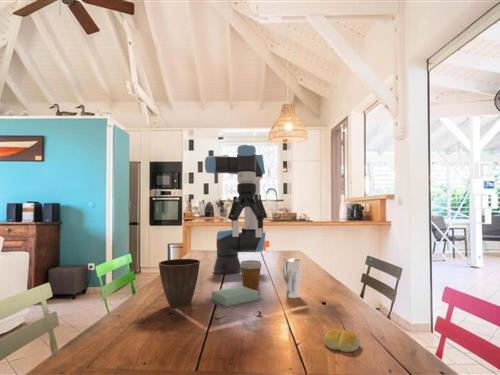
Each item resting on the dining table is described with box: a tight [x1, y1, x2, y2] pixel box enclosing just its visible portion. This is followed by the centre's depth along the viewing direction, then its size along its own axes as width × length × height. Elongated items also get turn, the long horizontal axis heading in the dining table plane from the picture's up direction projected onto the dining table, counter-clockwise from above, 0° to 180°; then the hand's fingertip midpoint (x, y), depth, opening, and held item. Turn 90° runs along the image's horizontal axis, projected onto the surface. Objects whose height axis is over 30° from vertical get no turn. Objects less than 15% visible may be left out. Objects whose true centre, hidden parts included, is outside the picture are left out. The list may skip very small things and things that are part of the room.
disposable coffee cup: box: [240, 259, 263, 290], centre depth 149 cm, size 10×10×12 cm
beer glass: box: [282, 257, 302, 299], centre depth 136 cm, size 7×7×15 cm
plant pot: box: [158, 258, 201, 309], centre depth 127 cm, size 15×15×16 cm
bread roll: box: [323, 328, 361, 353], centre depth 91 cm, size 8×9×4 cm
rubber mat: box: [205, 296, 266, 309], centre depth 131 cm, size 14×18×1 cm
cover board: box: [211, 285, 259, 306], centre depth 131 cm, size 11×14×3 cm
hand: (246, 237), depth 136 cm, fingers open, 13 cm apart
